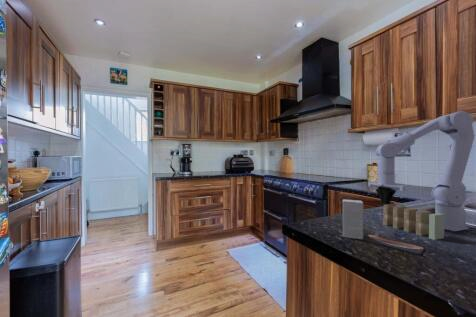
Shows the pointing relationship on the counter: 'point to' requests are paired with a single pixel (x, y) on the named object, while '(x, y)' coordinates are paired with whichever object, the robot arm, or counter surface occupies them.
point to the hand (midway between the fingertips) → (385, 206)
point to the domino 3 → (410, 219)
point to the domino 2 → (398, 217)
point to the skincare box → (353, 219)
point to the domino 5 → (436, 226)
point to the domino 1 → (388, 214)
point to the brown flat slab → (394, 244)
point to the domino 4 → (422, 222)
